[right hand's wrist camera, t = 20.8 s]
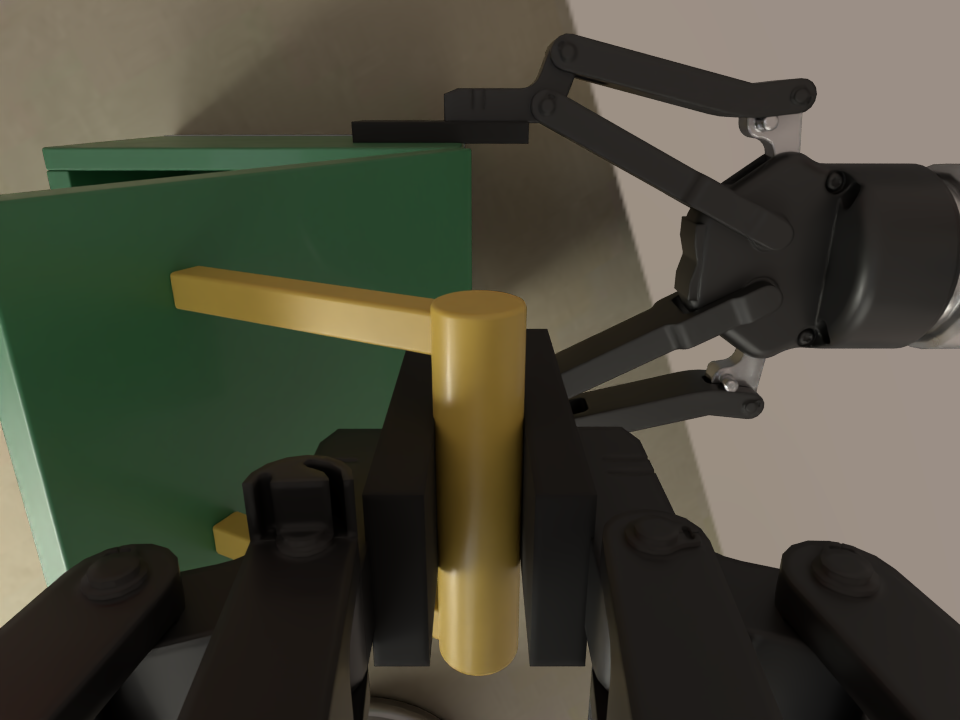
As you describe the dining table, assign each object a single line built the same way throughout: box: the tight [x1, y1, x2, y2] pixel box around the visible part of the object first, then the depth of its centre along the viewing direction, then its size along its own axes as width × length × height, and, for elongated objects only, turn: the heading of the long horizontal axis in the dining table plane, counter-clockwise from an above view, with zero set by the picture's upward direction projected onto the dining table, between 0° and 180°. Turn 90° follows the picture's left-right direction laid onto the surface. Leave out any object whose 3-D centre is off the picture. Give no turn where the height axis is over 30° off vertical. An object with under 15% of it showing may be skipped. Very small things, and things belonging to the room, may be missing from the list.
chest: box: [42, 135, 465, 189], centre depth 28 cm, size 14×9×10 cm, turn 90°
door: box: [0, 148, 527, 676], centre depth 16 cm, size 15×9×8 cm
